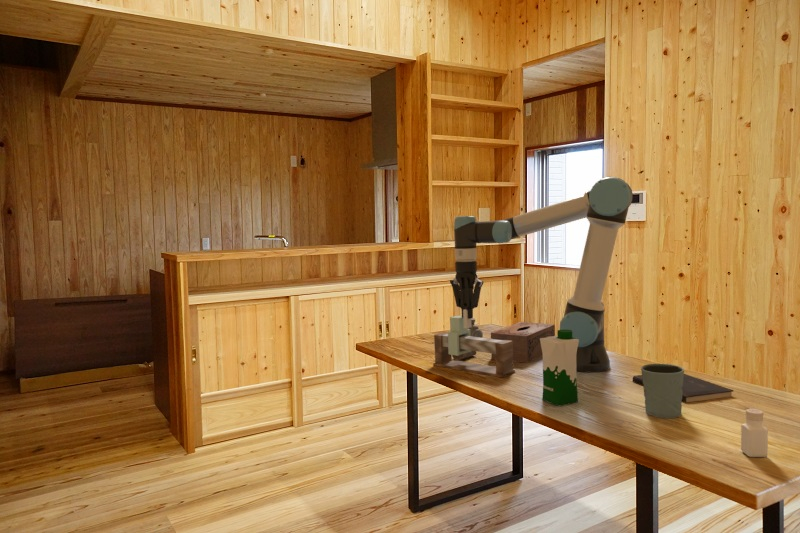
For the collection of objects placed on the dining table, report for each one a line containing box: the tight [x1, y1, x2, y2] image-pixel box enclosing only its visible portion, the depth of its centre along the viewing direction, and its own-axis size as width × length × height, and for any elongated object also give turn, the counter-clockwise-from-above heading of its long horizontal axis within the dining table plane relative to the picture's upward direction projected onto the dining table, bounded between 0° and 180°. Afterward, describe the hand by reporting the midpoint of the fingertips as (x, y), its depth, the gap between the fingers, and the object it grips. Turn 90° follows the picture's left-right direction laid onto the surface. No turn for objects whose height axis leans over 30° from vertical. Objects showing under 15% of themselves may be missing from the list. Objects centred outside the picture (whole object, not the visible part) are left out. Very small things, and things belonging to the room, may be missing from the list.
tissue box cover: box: [490, 321, 556, 364], centre depth 225 cm, size 26×14×10 cm, turn 143°
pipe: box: [452, 351, 477, 361], centre depth 226 cm, size 6×17×10 cm
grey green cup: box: [640, 363, 685, 419], centre depth 153 cm, size 10×10×12 cm
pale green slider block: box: [447, 314, 471, 356], centre depth 208 cm, size 4×8×13 cm, turn 138°
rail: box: [433, 331, 516, 378], centre depth 205 cm, size 29×8×11 cm, turn 48°
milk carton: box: [540, 329, 579, 407], centre depth 166 cm, size 9×9×20 cm
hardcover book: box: [632, 373, 734, 404], centre depth 174 cm, size 16×23×2 cm
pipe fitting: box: [468, 318, 484, 338], centre depth 252 cm, size 12×8×10 cm
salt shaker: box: [740, 408, 769, 458], centre depth 125 cm, size 4×4×10 cm
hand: (467, 327), depth 206 cm, fingers closed
